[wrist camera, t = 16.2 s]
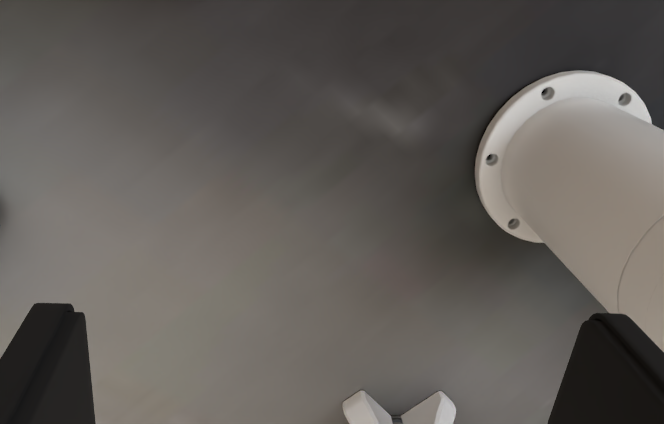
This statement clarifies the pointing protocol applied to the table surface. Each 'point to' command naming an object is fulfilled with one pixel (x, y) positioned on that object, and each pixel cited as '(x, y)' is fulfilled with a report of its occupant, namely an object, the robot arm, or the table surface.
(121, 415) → the table surface
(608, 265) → the robot arm
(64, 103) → the table surface
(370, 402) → the grey tall piece
